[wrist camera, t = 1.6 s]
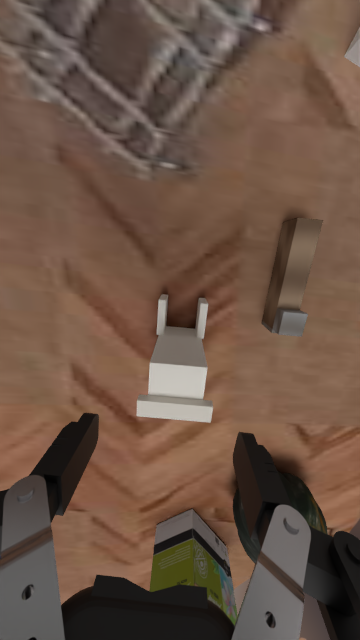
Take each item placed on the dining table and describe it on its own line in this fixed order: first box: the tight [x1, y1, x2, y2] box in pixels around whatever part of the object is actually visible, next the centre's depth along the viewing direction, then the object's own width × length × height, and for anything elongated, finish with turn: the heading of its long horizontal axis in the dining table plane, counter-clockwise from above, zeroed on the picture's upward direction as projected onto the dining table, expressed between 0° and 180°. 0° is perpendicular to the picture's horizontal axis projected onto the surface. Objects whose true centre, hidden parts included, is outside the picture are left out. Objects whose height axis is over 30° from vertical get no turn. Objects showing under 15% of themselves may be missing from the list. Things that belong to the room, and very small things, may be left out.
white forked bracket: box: [137, 294, 213, 422], centre depth 28 cm, size 11×8×13 cm
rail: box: [262, 218, 323, 337], centre depth 28 cm, size 14×3×6 cm, turn 175°
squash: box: [233, 471, 328, 564], centre depth 37 cm, size 14×15×15 cm
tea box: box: [150, 509, 237, 625], centre depth 41 cm, size 15×10×15 cm
